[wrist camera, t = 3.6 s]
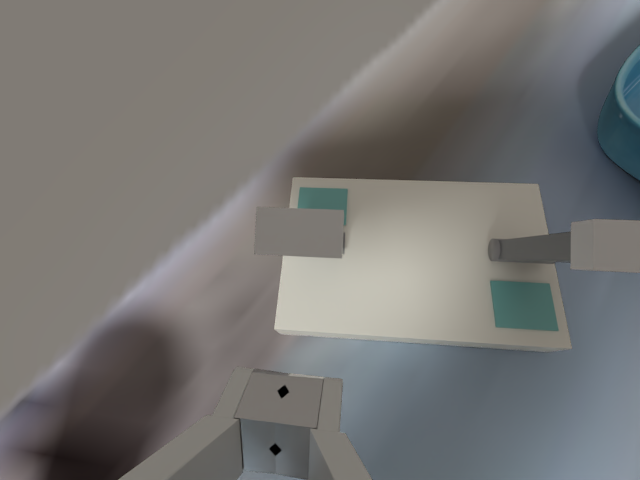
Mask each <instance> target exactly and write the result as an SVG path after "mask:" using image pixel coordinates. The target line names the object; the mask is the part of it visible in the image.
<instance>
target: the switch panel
mask: <svg viewBox="0 0 640 480" xmlns="http://www.w3.org/2000/svg"><path fill="white" fill-rule="evenodd" d="M289 208H302V209H331V210H344V228H343V232H345V254H342V259H341V258H320V257H299V256H283V262H282V270H281V278H280V286H279V295H278V303H277V311H276V319H275V327H274V329H275V330H276V331H277V332H279V333H280V334H286V335H301V336H315V337H330V338H345V339H360V340H374V341H389V342H404V343H419V344H433V345H448V346H463V347H477V348H492V349H507V350H522V351H536V352H555V351H561V350H568V349H572V346H571V341H570V336H569V331H568V326H567V321H566V316H565V311H564V306H563V302H562V297H561V292H560V287H559V282H558V277H557V272H556V267H555V263H554V264H538V263H516V262H495V261H491V260H490V259H489V256H488V245H489V242H490V240H491V239H513V238H522V237H530V236H539V235H548V234H549V233H548V228H547V224H546V219H545V214H544V209H543V204H542V199H541V194H540V189H539V185H538V184H524V183H487V182H451V181H414V180H378V179H341V178H305V177H293V180H292V188H291V197H290V205H289Z"/></svg>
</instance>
